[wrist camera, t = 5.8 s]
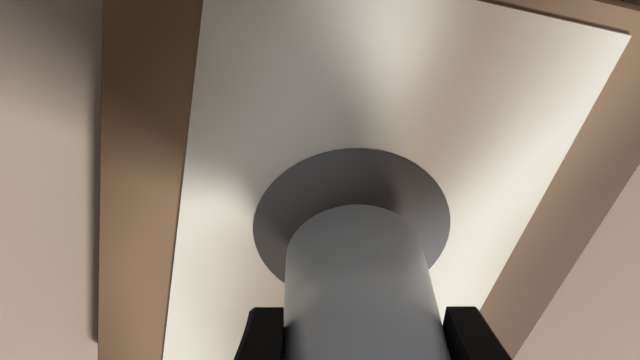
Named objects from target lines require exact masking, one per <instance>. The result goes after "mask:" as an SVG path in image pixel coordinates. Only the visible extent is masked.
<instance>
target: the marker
mask: <svg viewBox="0 0 640 360" xmlns="http://www.w3.org/2000/svg"><path fill="white" fill-rule="evenodd" d="M283 360H451V357H450V353H449V349H448V345H447V341H446V337H445V333H444V330H443V326H442V322H441V318H440V314H439V310H438V306H437V302H436V298H435V294H434V290H433V286H432V282H431V278H430V275H429V271H428V267H427V263H426V259H425V255H424V251H423V247H422V243H421V240H420V238H419V235H418V234H417V232H416V230H415V229H414V228H413V226H412V225H411V224H410V223H409V222H408V221H406V220H405V219H404V218H403V217H401V216H400V215H398V214H396V213H394V212H392V211H390V210H387V209H384V208H381V207H377V206H372V205H357V204H354V205H344V206H339V207H334V208H331V209H328V210H325V211H323V212H321V213H319V214H317V215H315V216H313V217H312V218H310V219H309V220H307V221H306V222H305V223H303V224H302V225H301V226H300V227H299V228H298V229H297V231H296V232H295V233H294V235H293V236H292V238H291V240H290V242H289V245H288V247H287V252H286V268H285V294H284V345H283Z"/></svg>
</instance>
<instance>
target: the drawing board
mask: <svg viewBox="0 0 640 360" xmlns="http://www.w3.org/2000/svg"><path fill="white" fill-rule="evenodd" d="M639 164H640V5H636V4H632V3H628V2H624V1H619V0H103V32H102V101H101V170H100V239H99V308H98V360H234V357H235V355H236V352H237V350H238V347H239V344H240V342H241V339H242V336H243V333H244V330H245V326H246V323H247V319H248V315H249V311H250V310H252V309H253V308H254V307H284V294H285V268H286V252H287V247H288V245H289V242H290V240H291V238H292V236H293V235H294V233H295V232H296V231H297V229H298V228H299V227H300V226H301V225H302V224H303V223H305V222H306V221H307V220H309V219H310V218H312V217H313V216H315V215H317V214H319V213H321V212H323V211H325V210H328V209H331V208H334V207H339V206H344V205H354V204H357V205H372V206H377V207H381V208H384V209H387V210H390V211H392V212H394V213H396V214H398V215H400V216H401V217H403V218H404V219H405V220H406V221H408V222H409V223H410V224H411V225H412V226H413V228H414V229H415V230H416V232H417V234H418V235H419V238H420V240H421V243H422V247H423V251H424V255H425V259H426V263H427V267H428V271H429V275H430V278H431V282H432V286H433V290H434V294H435V298H436V302H437V306H438V310H439V314H440V318H441V322H442V325H443V321H444V316H445V311H446V306H475V307H476V308H477V309H478V310H479V311H480V312H481V314H482V316H483V317H484V319H485V320H486V322H487V323H488V325H489V326H490V328H491V329H492V331H493V332H494V334H495V335H496V337H497V338H498V340H499V341H500V343H501V344H502V346H503V347H504V349H505V350H506V351H507V353H508V354H509V356H510V357H511V358H512V360H513V359H514V357H515V355H516V354H517V352H518V351H519V349H520V348H521V346H522V345H523V343H524V342H525V340H526V338H527V337H528V335H529V334H530V332H531V331H532V329H533V328H534V326H535V325H536V323H537V321H538V320H539V318H540V317H541V315H542V314H543V312H544V311H545V309H546V308H547V306H548V304H549V303H550V301H551V300H552V298H553V297H554V295H555V294H556V292H557V291H558V289H559V287H560V286H561V284H562V283H563V281H564V280H565V278H566V277H567V275H568V274H569V272H570V270H571V269H572V267H573V266H574V264H575V263H576V261H577V260H578V258H579V257H580V255H581V253H582V252H583V250H584V249H585V247H586V246H587V244H588V243H589V241H590V239H591V238H592V236H593V235H594V233H595V232H596V230H597V229H598V227H599V226H600V224H601V222H602V221H603V219H604V218H605V216H606V215H607V213H608V212H609V210H610V209H611V207H612V205H613V204H614V202H615V201H616V199H617V198H618V196H619V195H620V193H621V192H622V190H623V188H624V187H625V185H626V184H627V182H628V181H629V179H630V178H631V176H632V175H633V173H634V171H635V170H636V168H637V167H638V165H639Z"/></svg>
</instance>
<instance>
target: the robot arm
mask: <svg viewBox="0 0 640 360" xmlns="http://www.w3.org/2000/svg"><path fill="white" fill-rule="evenodd" d="M442 326H443V330H444V333H445V337H446V341H447V345H448V349H449V353H450V357H451V360H512V358H511V357H510V356H509V354H508V353H507V351H506V350H505V349H504V347H503V346H502V344H501V343H500V341H499V340H498V338H497V337H496V335H495V334H494V332H493V331H492V329H491V328H490V326H489V325H488V323H487V322H486V320H485V319H484V317H483V316H482V314H481V312H480V311H479V310H478V309H477V308H476V307H475V306H446V311H445V316H444V321H443V325H442ZM283 345H284V307H254V308H253V309H252V310H250V311H249V315H248V319H247V323H246V326H245V330H244V333H243V336H242V339H241V342H240V344H239V347H238V350H237V352H236V355H235V357H234V360H283Z"/></svg>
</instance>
